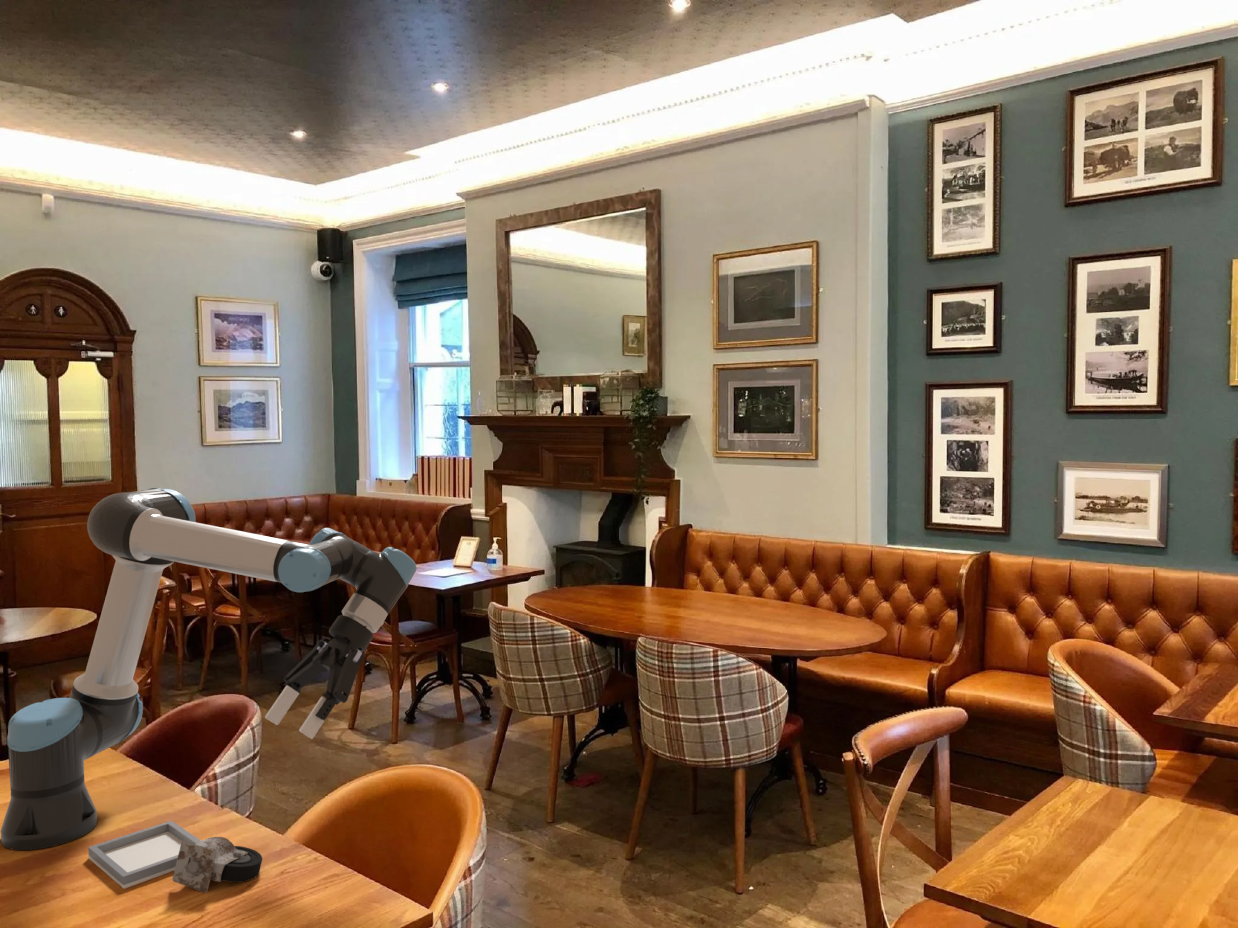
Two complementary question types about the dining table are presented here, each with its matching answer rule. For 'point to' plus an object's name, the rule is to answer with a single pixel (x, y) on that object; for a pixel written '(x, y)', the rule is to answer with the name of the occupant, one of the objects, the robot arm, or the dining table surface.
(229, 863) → the caster wheel
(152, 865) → the shallow rectangular tray
